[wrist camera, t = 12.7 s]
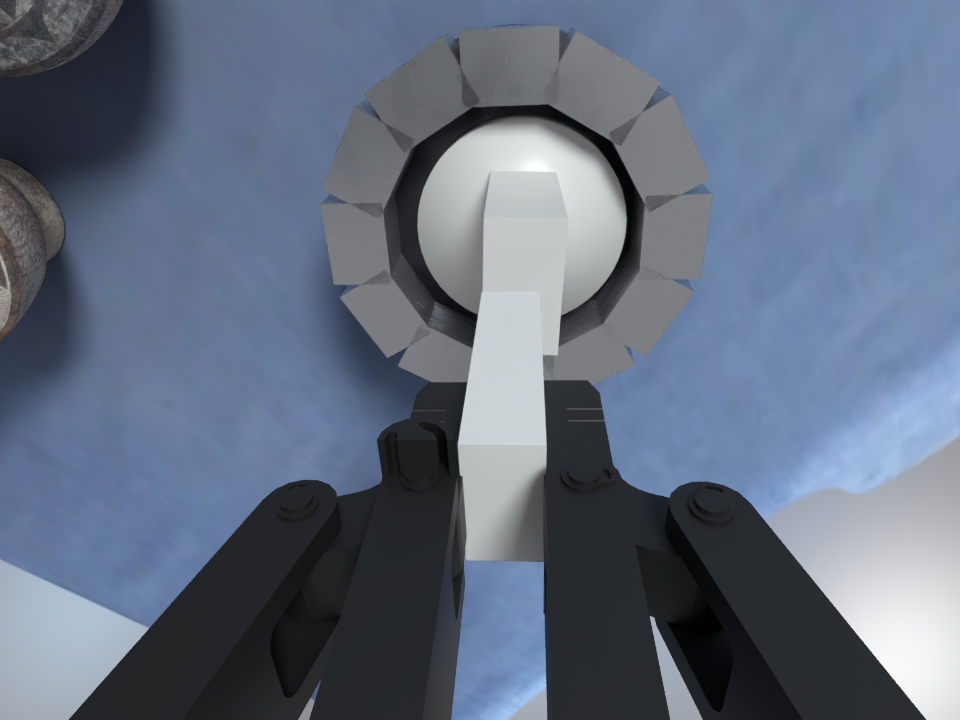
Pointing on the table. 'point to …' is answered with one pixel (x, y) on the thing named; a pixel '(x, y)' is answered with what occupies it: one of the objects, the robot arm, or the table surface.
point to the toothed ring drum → (482, 96)
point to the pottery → (8, 187)
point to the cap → (523, 216)
